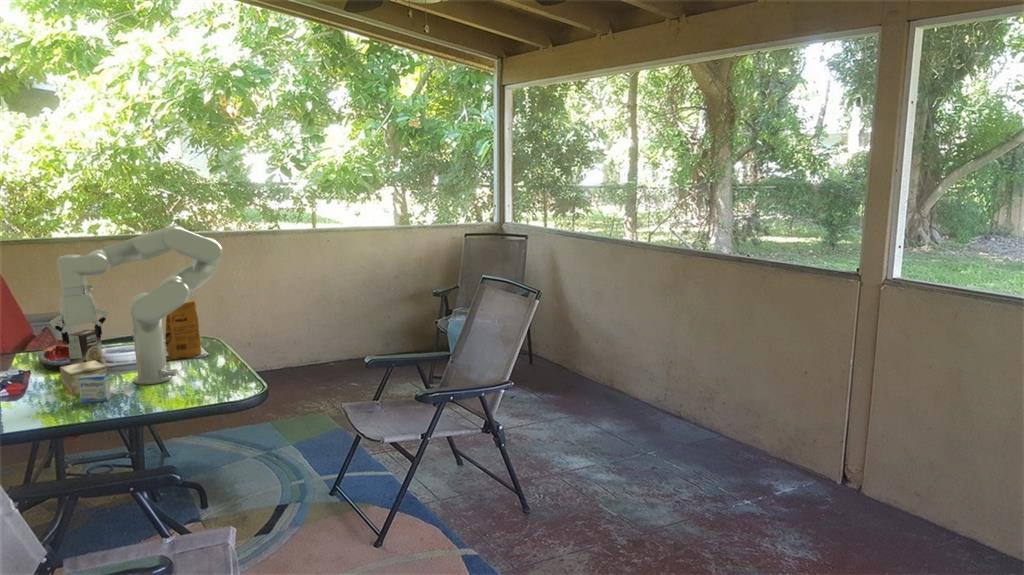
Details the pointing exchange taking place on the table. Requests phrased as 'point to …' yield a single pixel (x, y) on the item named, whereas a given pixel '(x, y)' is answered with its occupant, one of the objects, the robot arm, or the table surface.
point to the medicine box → (94, 388)
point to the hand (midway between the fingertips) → (83, 340)
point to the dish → (55, 357)
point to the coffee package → (183, 332)
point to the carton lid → (82, 367)
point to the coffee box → (85, 347)
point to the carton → (76, 380)
